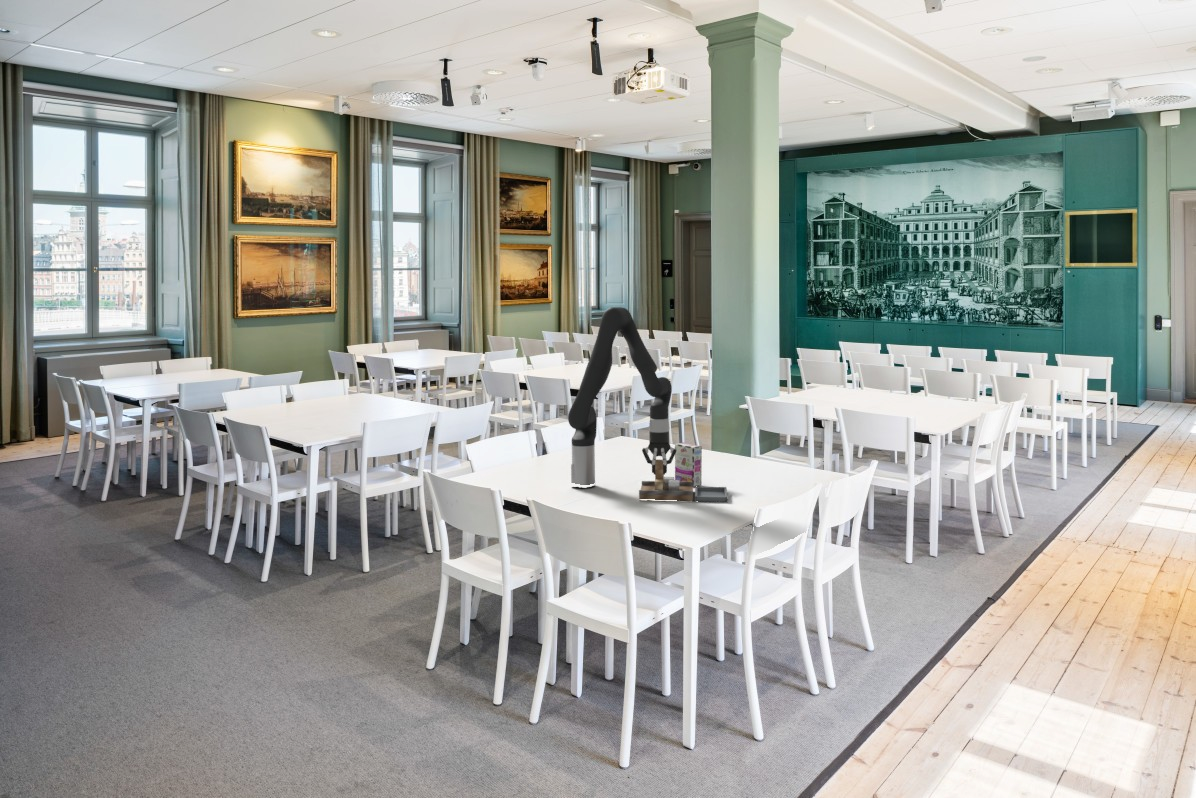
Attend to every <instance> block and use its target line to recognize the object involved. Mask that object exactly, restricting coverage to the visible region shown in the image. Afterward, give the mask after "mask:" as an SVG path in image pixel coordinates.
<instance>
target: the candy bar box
mask: <svg viewBox="0 0 1196 798" xmlns="http://www.w3.org/2000/svg"><path fill="white" fill-rule="evenodd" d="M674 448H676V449H677V451H676V453H675V456H674V480H680V481H682V482H693V488H695V487H696V486H698V487H702V469H703V468H702V465H703V464H702V463H703V462H702V461H703V460H702V457H703V456H702V451H703V450H702V449H703V447H702V445H697V444H692V443H685V442H679V443H674Z"/></svg>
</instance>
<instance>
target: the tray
mask: <svg viewBox="0 0 1196 798" xmlns="http://www.w3.org/2000/svg"><path fill="white" fill-rule="evenodd" d="M694 491H695V492H694V502H695V501H698V502H697V503H728V491H727V486H698V487H694Z"/></svg>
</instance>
